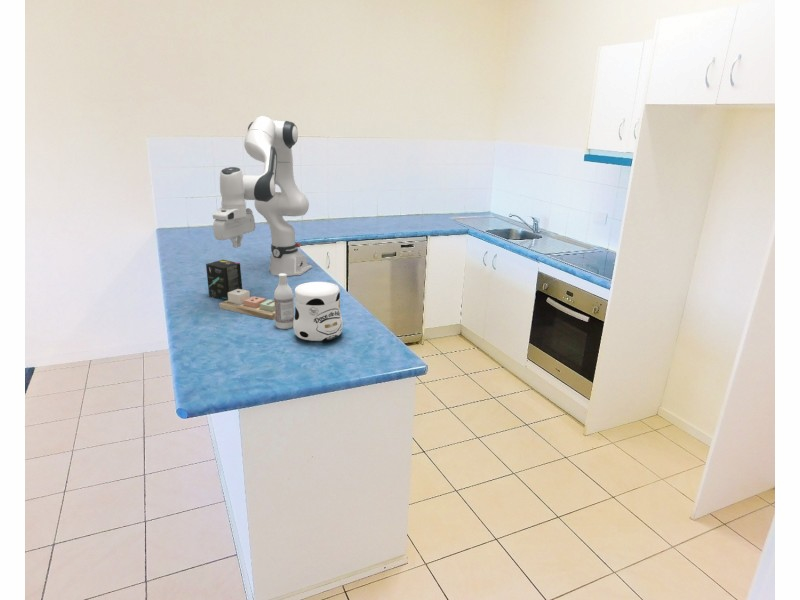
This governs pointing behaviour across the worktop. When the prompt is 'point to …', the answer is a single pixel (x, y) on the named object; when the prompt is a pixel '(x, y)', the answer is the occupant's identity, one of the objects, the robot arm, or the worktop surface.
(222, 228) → the robot arm
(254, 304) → the toy block
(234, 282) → the tampon box
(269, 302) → the toy block
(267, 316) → the board
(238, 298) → the toy block
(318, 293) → the milk container
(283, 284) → the bath foam
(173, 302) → the worktop surface
